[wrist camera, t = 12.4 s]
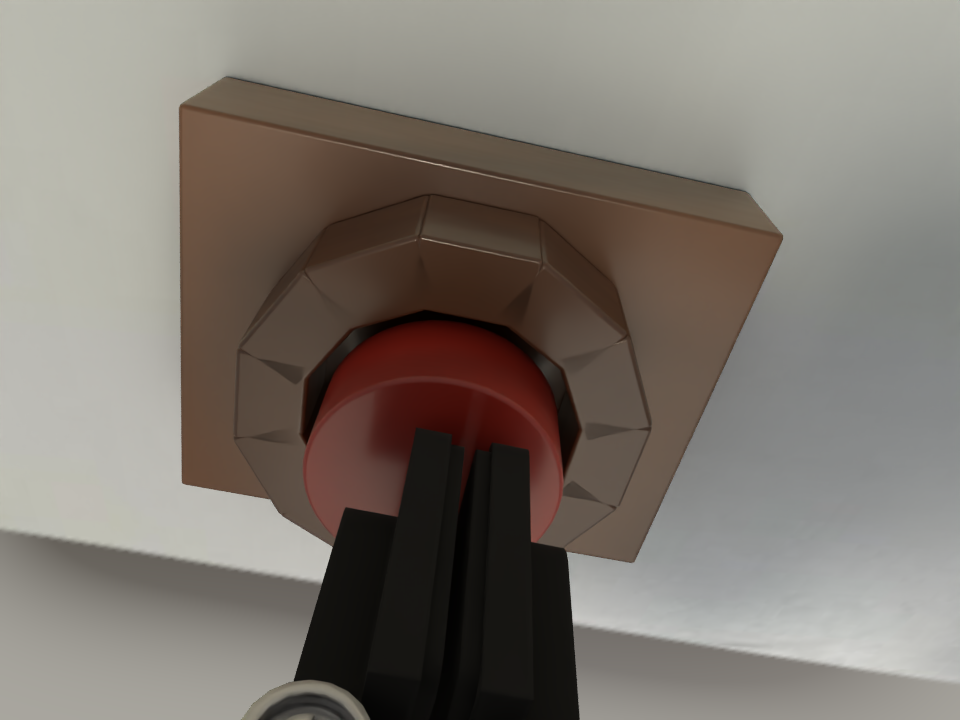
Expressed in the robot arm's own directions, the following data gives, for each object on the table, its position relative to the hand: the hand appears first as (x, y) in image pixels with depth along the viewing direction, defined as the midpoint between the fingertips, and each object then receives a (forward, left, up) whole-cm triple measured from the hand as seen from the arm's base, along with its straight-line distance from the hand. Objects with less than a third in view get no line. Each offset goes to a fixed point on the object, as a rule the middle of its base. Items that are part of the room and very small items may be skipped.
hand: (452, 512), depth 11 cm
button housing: (0, 0, -6) cm, 6 cm away
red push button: (0, 0, -2) cm, 2 cm away
